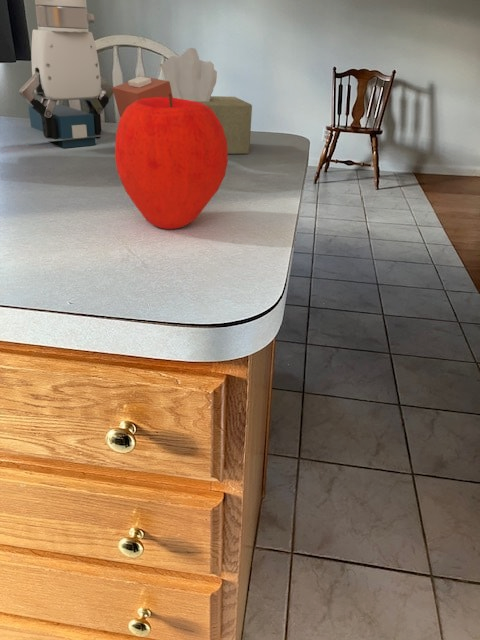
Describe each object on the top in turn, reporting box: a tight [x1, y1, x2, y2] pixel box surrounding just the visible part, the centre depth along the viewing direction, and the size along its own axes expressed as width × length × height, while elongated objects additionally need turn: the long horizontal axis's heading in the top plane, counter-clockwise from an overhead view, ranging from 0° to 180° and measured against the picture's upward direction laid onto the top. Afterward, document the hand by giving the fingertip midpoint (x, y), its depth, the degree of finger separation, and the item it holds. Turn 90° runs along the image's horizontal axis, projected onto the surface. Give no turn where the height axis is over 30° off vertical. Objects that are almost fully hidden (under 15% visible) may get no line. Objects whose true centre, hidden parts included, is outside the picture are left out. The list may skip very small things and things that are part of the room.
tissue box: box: [160, 47, 253, 155], centre depth 91 cm, size 19×10×16 cm, turn 107°
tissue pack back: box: [28, 104, 97, 149], centre depth 94 cm, size 13×6×5 cm, turn 42°
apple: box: [114, 94, 229, 230], centre depth 57 cm, size 12×12×13 cm
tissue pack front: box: [112, 76, 173, 119], centre depth 73 cm, size 13×6×5 cm
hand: (73, 138), depth 92 cm, fingers open, 7 cm apart
